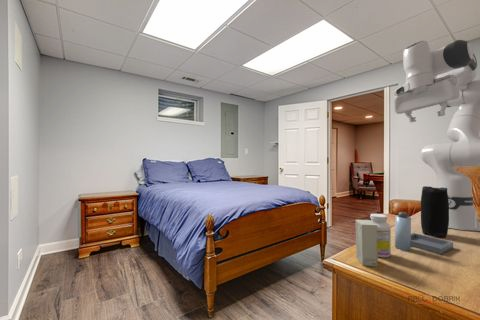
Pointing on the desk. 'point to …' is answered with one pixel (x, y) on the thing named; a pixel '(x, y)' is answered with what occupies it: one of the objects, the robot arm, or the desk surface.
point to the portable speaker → (435, 211)
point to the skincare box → (366, 242)
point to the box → (430, 244)
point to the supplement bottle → (382, 235)
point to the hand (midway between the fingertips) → (426, 119)
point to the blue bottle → (403, 231)
